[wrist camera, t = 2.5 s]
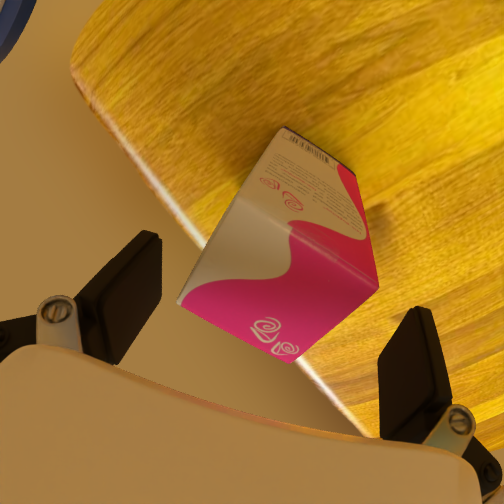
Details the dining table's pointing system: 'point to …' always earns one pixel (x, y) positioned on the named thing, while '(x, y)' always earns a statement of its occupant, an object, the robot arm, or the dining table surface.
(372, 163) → the dining table surface
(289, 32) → the dining table surface
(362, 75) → the dining table surface
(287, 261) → the supplement box
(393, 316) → the dining table surface
